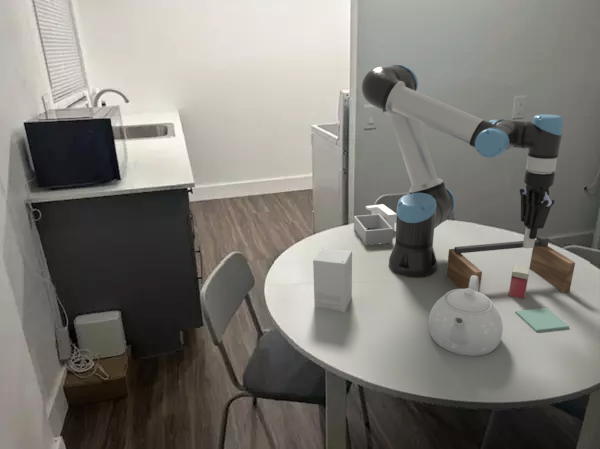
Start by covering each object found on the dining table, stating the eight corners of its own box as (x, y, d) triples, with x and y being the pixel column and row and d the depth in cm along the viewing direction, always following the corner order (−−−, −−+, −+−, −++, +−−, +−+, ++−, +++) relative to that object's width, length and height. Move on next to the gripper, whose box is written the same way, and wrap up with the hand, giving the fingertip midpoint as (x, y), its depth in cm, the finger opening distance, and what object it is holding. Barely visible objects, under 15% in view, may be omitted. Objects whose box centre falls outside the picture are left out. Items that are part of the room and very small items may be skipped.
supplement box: (352, 298, 135) (353, 250, 129) (345, 313, 127) (345, 264, 122) (322, 293, 138) (322, 247, 132) (313, 308, 130) (312, 260, 124)
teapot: (521, 351, 109) (530, 300, 105) (452, 367, 105) (458, 315, 100) (472, 311, 126) (477, 266, 121) (411, 324, 122) (414, 277, 117)
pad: (535, 332, 116) (536, 329, 116) (515, 313, 125) (515, 311, 125) (568, 328, 118) (569, 326, 117) (546, 309, 126) (546, 307, 126)
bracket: (382, 220, 194) (365, 222, 192) (383, 204, 191) (365, 206, 189) (396, 231, 182) (378, 233, 180) (397, 214, 179) (378, 216, 178)
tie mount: (471, 302, 131) (475, 272, 127) (446, 276, 145) (449, 249, 142) (569, 291, 134) (575, 262, 131) (535, 267, 149) (539, 241, 146)
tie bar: (457, 254, 138) (457, 246, 137) (453, 251, 140) (454, 243, 139) (547, 245, 142) (549, 238, 141) (542, 242, 144) (544, 235, 143)
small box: (509, 288, 137) (513, 264, 135) (525, 291, 136) (529, 266, 133) (508, 296, 133) (511, 271, 130) (524, 299, 131) (528, 274, 129)
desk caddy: (365, 246, 169) (365, 231, 167) (353, 230, 184) (354, 216, 182) (392, 244, 170) (393, 228, 168) (378, 228, 185) (379, 214, 183)
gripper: (568, 175, 127) (553, 254, 135) (538, 164, 139) (526, 238, 147) (542, 177, 126) (529, 257, 134) (514, 166, 138) (504, 239, 146)
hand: (528, 247), depth 141 cm, fingers closed
